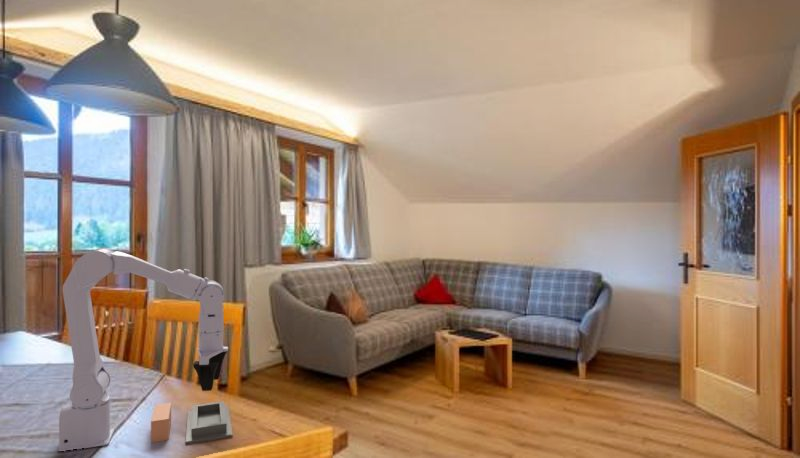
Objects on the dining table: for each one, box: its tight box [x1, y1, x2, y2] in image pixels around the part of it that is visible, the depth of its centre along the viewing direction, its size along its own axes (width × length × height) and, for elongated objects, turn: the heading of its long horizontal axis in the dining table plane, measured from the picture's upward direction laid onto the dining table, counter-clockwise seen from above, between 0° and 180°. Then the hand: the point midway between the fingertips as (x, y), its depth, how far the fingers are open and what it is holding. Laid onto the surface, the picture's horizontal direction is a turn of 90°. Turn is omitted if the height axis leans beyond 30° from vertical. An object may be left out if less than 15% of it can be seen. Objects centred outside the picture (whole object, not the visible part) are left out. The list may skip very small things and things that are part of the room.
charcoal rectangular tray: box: [185, 400, 233, 445], centre depth 117 cm, size 10×18×3 cm, turn 23°
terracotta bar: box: [150, 402, 172, 443], centre depth 113 cm, size 4×10×5 cm, turn 23°
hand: (210, 384), depth 118 cm, fingers open, 7 cm apart
